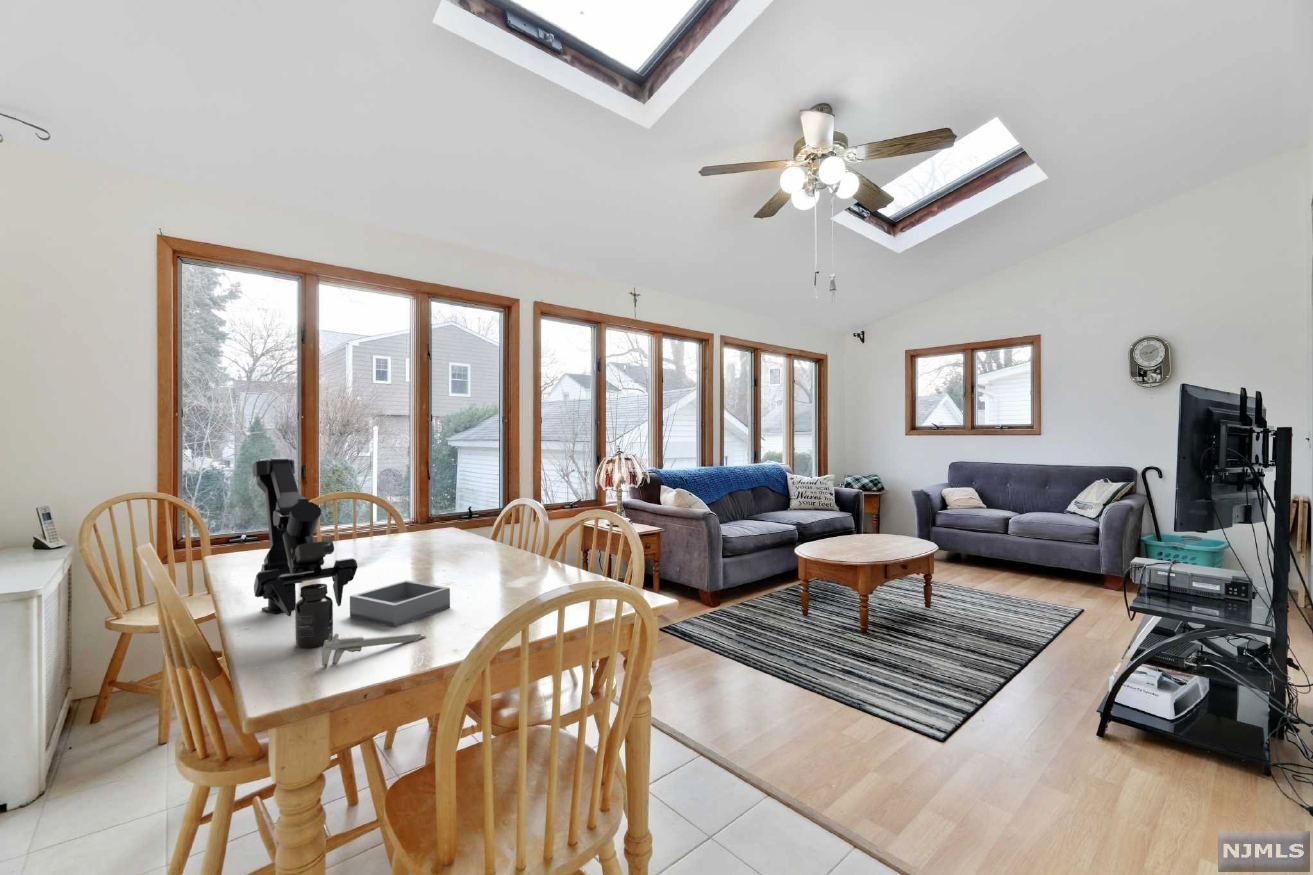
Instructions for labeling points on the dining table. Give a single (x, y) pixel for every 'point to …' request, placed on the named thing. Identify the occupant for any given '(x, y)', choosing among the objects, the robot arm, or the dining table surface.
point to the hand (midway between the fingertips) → (315, 610)
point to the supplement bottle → (313, 616)
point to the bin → (399, 603)
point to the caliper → (360, 644)
